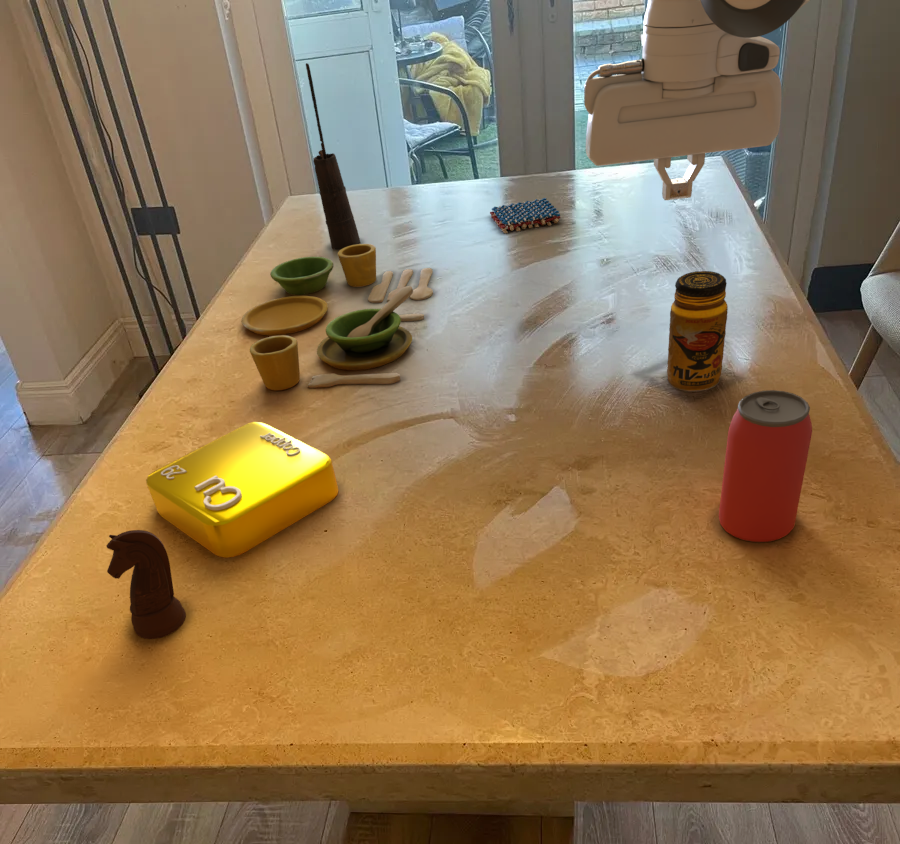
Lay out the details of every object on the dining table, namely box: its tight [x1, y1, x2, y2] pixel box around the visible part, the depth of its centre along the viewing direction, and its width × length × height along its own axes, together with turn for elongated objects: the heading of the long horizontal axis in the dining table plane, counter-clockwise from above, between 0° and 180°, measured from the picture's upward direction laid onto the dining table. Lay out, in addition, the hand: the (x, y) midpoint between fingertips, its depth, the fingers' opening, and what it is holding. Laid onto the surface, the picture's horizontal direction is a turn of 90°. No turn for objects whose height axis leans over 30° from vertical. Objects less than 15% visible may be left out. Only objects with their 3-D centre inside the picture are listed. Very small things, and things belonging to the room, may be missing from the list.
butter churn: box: [305, 62, 361, 251], centre depth 141 cm, size 9×10×28 cm
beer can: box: [718, 389, 813, 543], centre depth 73 cm, size 7×7×12 cm
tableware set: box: [241, 243, 434, 391], centre depth 120 cm, size 41×28×6 cm
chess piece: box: [106, 529, 187, 640], centre depth 73 cm, size 5×5×10 cm
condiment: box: [666, 270, 729, 393], centre depth 95 cm, size 7×8×12 cm
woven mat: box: [489, 197, 561, 234], centre depth 147 cm, size 10×11×2 cm
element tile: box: [145, 421, 339, 559], centre depth 88 cm, size 15×15×5 cm
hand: (676, 197), depth 95 cm, fingers closed
